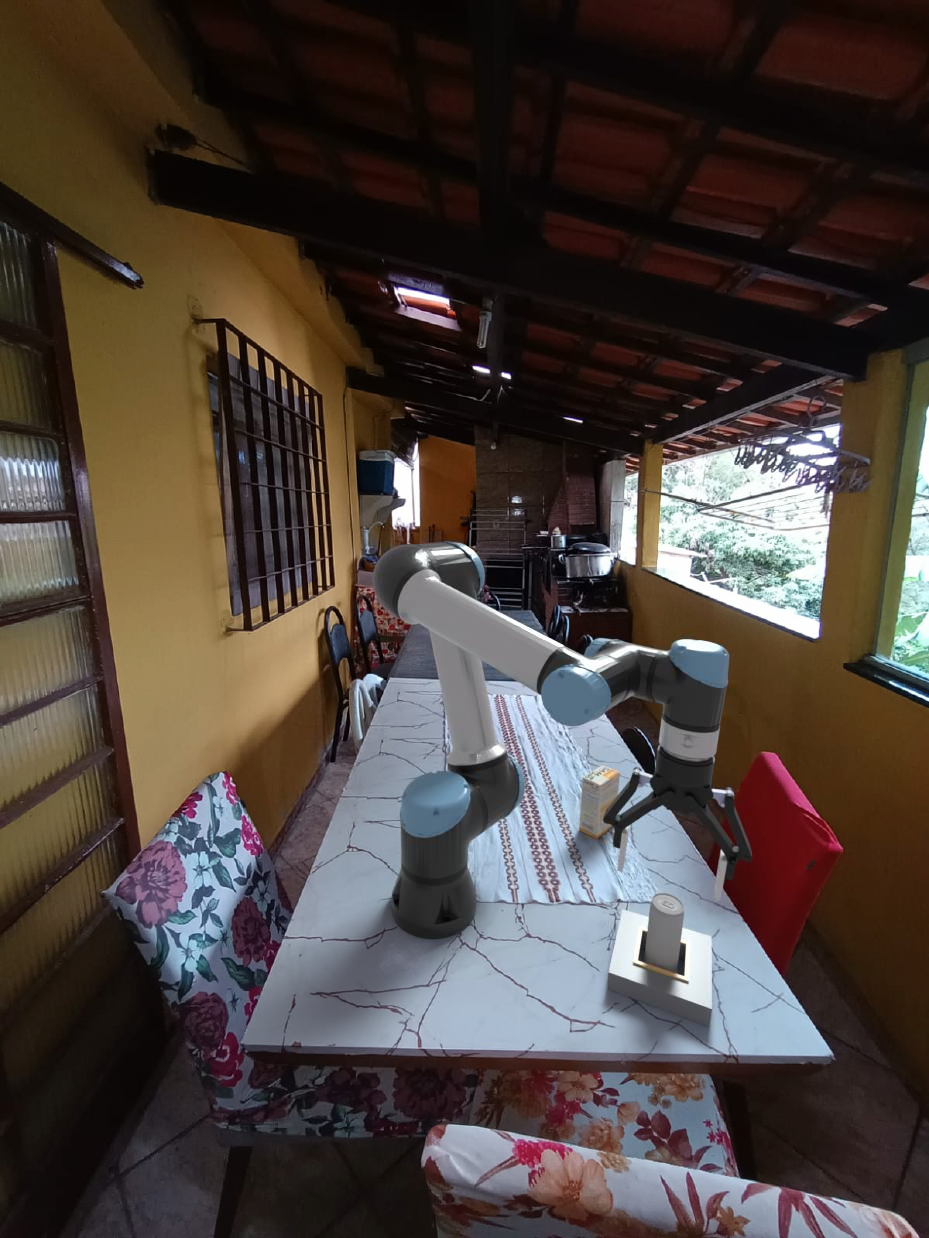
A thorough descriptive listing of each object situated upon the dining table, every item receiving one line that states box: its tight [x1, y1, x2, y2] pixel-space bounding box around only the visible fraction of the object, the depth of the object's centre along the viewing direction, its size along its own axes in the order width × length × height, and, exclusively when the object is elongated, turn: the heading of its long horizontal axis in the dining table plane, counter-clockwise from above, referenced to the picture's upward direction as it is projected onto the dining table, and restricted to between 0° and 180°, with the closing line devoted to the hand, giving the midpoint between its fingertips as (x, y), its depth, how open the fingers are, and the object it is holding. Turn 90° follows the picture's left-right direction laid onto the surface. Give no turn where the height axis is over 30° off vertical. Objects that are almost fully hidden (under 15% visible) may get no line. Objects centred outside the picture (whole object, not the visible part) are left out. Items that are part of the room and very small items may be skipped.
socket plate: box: [606, 908, 713, 1028], centre depth 83 cm, size 14×14×3 cm
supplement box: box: [578, 765, 621, 839], centre depth 119 cm, size 8×5×13 cm, turn 134°
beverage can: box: [643, 892, 685, 974], centre depth 82 cm, size 5×5×12 cm
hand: (667, 880), depth 81 cm, fingers open, 13 cm apart
